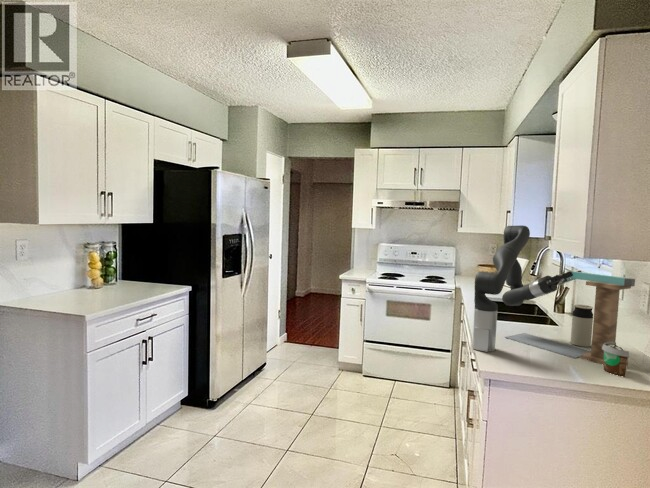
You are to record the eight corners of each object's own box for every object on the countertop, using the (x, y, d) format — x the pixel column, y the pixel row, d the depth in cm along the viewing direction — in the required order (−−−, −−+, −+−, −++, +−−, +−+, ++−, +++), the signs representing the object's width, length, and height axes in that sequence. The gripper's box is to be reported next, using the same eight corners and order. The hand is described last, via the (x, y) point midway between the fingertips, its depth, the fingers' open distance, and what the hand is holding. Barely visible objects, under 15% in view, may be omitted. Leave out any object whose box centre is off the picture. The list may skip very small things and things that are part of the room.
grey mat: (594, 352, 175) (594, 352, 175) (575, 358, 167) (575, 357, 167) (524, 333, 202) (524, 332, 202) (504, 337, 194) (504, 336, 194)
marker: (634, 286, 157) (635, 278, 157) (631, 286, 155) (631, 279, 155) (570, 277, 177) (570, 271, 177) (566, 277, 176) (567, 271, 175)
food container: (595, 364, 160) (597, 340, 159) (613, 367, 158) (615, 341, 158) (607, 376, 148) (609, 349, 148) (626, 378, 146) (629, 351, 146)
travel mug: (595, 347, 184) (598, 308, 182) (579, 347, 182) (582, 308, 181) (581, 341, 191) (584, 304, 190) (566, 342, 190) (569, 304, 189)
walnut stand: (625, 363, 163) (631, 284, 161) (612, 367, 157) (618, 286, 155) (592, 354, 173) (598, 280, 171) (579, 358, 167) (585, 281, 165)
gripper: (554, 293, 188) (589, 280, 176) (537, 295, 181) (572, 282, 168) (547, 278, 191) (581, 264, 179) (530, 279, 184) (564, 265, 171)
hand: (576, 272), depth 173 cm, fingers open, 7 cm apart
